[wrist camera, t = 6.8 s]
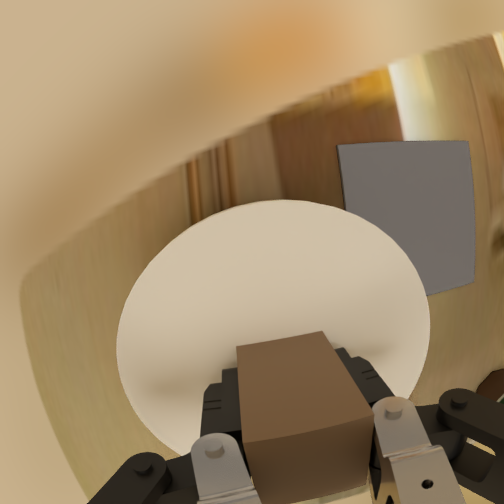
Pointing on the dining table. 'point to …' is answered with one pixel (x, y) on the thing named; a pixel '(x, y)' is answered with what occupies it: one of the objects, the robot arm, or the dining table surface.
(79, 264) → the dining table surface
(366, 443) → the lid
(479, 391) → the beer bottle
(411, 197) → the mat
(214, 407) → the robot arm
